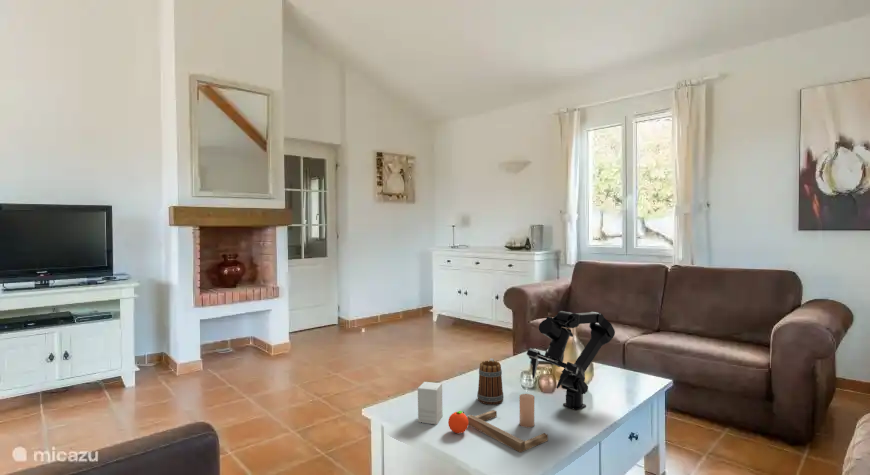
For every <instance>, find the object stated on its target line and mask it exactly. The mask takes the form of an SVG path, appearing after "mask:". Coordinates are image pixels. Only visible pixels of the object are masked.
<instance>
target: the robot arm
mask: <svg viewBox="0 0 870 475" xmlns="http://www.w3.org/2000/svg"><path fill="white" fill-rule="evenodd" d="M584 324H589V329H590V339H589V340H588V342H587V344H586V345H585V346H584V348H583V350H582V351H581V353H580V354H579V355H578V357H577V359H576V360H575V362H574V363H572V362H570V361H567V362H566V363H565V362H564V358H565V349H566V348H567V344H568V342H569V339H570V337H571V338H572V337H574V334H573V332H572V329H575V328H577V327H579V326H580V325H584ZM538 330H539V332H540V334H543V335H544V336H545V337H547V338H549V339H550V343H549V344H548V348H547V349H546V350H545V354H541V352H540V351H539V350H537V349H533V348H531V347H530V348H528V349H527V351H526V355H527V357H528V358H529V359H530V361H531V369H532V370H531V372H532V373H531V375H532V379H533V380H535V377H536V373H537V368H538V366H539V363H540V361H539V360H542V361H544V362H547V363H549V364H550V365H554V366H557V367H558V368H563V370H561V373H560V376H559V380H558V382H557V385H556V389H559V388H560V386H561V388H562V389H564V390H566V391H565V402H564V403H562V405H563V406H564V407H567V408H570V409H572V410H575V411H578V410H580V409H583V408H586V407H587V404H585V403H584V395H585V394H586V393H588V390H589V386H588V384H587V383H586V382H585V381H586V375H585V374H586V371H587V369H588V368H589V366H590V365H591V364H592V362H593V360H594V359H595V357H596V356H597V354H598V353H599V351H600V349H601V348H602V346H604V345H607V344H609V343H610V342H611V341H612V339H613V338H614V337H615V334H616V330H615V328H614V326H613V325H612V323H611V322H610V321H608V319H606V318H605V316H604V314H602V313H601V312H597V311H590V312H578V313H577V312H576V313H574V312H570V311H563V310H559V311H558V312H557V314H556V315H555V316H553V317H552V316H546V318H545V319H544V320H542V321H541V322H540V323H539V325H538Z"/></svg>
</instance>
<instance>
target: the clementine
mask: <svg viewBox="0 0 870 475" xmlns="http://www.w3.org/2000/svg"><path fill="white" fill-rule="evenodd" d="M467 416H468V415H466V413H465V412H464V411H463V410H458V411H455V412H453V413H451V415H449V417H448V428H449V430H451V432H453V433H455V434H463V433H464V432H466V430H467V429H468V426H469V425H468V423H469V422H468V418H467Z"/></svg>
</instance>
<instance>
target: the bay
mask: <svg viewBox="0 0 870 475" xmlns="http://www.w3.org/2000/svg"><path fill="white" fill-rule="evenodd" d="M497 414H498V413H497V410H495V409H492V410H489V411H485V412H484V413H480V414H478V415H473V414H469V415H466V416H467V418H468V422H469V423H468V426H470V427H471V428H473V429H475V430H477V431H479V432H481V433H483V434H484V435H486V436H488V437H489V438H492V439H494V440H495V441H498V442H499V443H502V444H504V446H505V445H506V446H508V447H509V448H511V449H513V450H515V451H517V452H519V453H522V452H525V451H527V450H530V449H531V448H534V447H536V446H539V445H542V444H544V443H545V442H548V440H549V435H548V434H547V433H545V432H544V433H540V434H538V435H536V436H534V437H531V438H528V439H526V440H523V439H521V438H519V437H517V436H515V435H513V434H511V433H509V432H507V431H505V430H503V429H501V428H499V427H496V426H495V425H493V424H492V423H489V422H487V421H488V420H491V419H494V418H497V416H498V415H497Z"/></svg>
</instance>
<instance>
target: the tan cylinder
mask: <svg viewBox="0 0 870 475" xmlns="http://www.w3.org/2000/svg"><path fill="white" fill-rule="evenodd" d="M519 425H520V426H521V427H523V428H533V427H534V426H535V396H534V394H531V393H522V394H519Z"/></svg>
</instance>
